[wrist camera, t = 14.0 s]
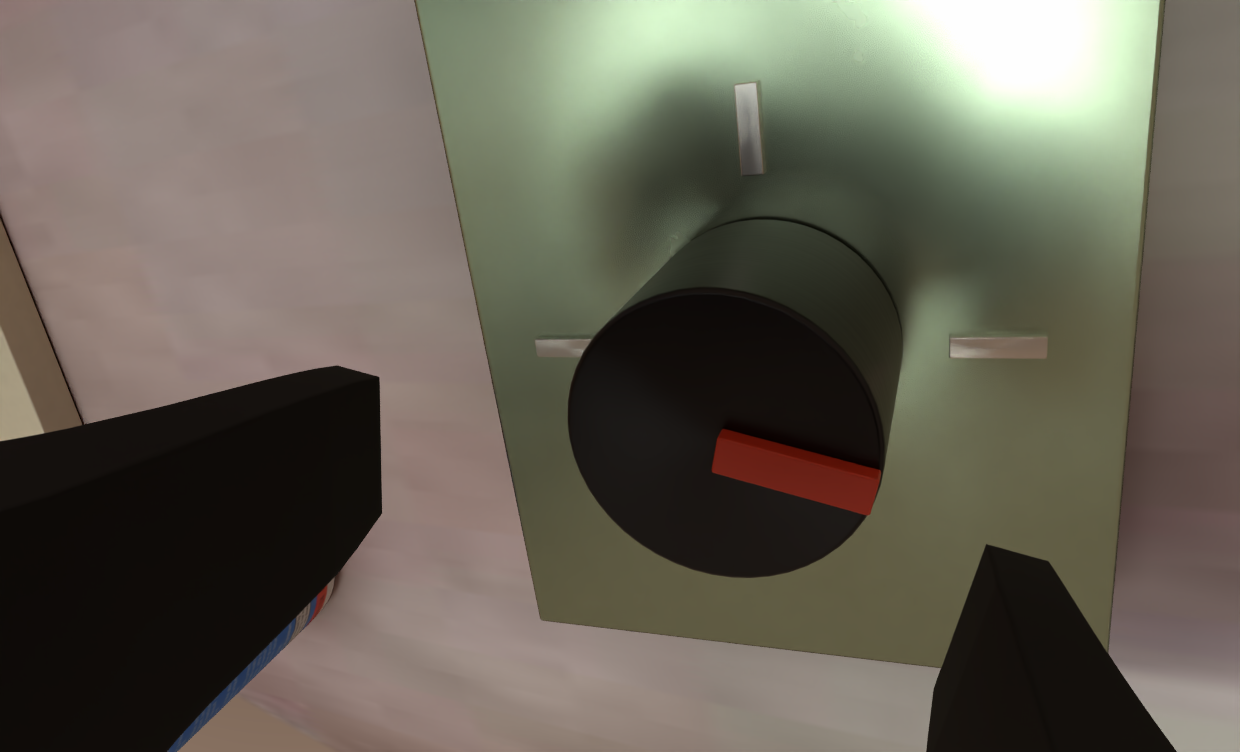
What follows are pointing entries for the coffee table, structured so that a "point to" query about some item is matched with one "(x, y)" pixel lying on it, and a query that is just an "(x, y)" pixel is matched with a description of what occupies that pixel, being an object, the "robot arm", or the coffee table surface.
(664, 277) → the dial
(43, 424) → the switch block
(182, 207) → the coffee table surface
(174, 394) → the coffee table surface
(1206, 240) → the coffee table surface
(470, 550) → the coffee table surface
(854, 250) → the panel
